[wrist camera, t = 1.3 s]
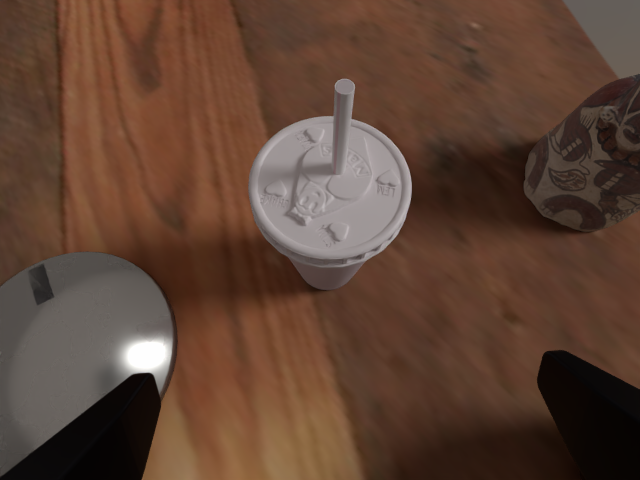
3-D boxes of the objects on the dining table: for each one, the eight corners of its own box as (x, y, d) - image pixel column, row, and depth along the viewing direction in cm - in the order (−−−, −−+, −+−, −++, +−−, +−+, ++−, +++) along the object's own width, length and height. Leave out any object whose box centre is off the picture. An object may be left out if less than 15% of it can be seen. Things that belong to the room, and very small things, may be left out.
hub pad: (211, 398, 20) (206, 398, 20) (-16, 531, 18) (-30, 537, 17) (136, 224, 24) (130, 218, 24) (-59, 317, 22) (-72, 314, 21)
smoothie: (397, 250, 24) (492, 79, 10) (339, 334, 22) (365, 253, 9) (316, 197, 25) (309, -12, 12) (254, 271, 23) (166, 119, 10)
